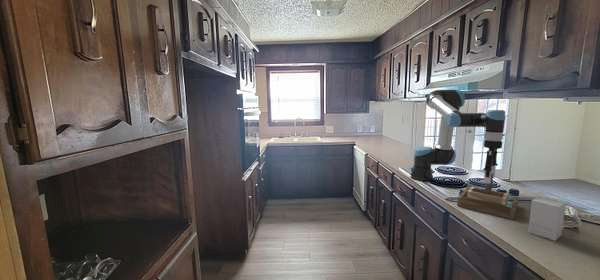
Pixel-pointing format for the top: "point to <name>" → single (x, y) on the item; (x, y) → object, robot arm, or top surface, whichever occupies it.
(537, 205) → the supplement box
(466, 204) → the bay
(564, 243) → the top surface
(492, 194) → the crate
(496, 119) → the robot arm
